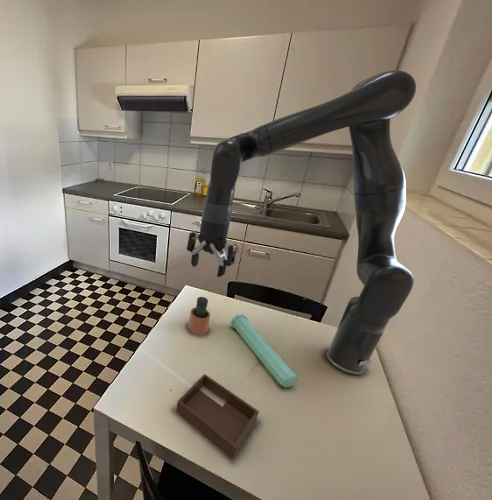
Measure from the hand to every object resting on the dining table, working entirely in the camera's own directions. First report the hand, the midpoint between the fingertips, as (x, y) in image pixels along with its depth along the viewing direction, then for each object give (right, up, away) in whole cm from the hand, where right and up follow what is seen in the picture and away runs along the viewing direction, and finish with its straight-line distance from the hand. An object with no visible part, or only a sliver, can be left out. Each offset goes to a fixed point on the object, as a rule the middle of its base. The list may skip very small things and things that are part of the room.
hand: (206, 270), depth 82 cm
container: (+16, -25, +1) cm, 30 cm away
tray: (-2, -32, -18) cm, 37 cm away
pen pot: (-1, -20, +10) cm, 22 cm away
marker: (-1, -19, +9) cm, 22 cm away
